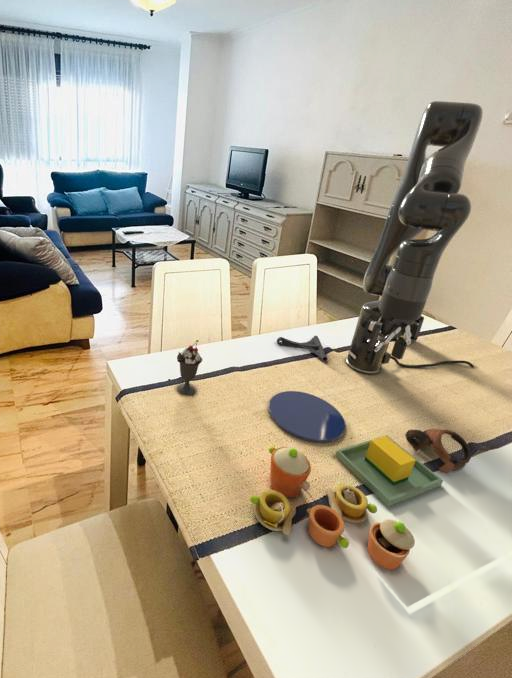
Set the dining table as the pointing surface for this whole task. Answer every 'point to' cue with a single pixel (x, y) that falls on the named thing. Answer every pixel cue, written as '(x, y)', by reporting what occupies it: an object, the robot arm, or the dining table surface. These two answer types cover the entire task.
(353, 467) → the dish
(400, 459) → the sponge
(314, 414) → the plate
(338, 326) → the dining table surface
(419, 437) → the pottery mug
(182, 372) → the sundae
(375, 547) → the toy tea set
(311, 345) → the bracket
